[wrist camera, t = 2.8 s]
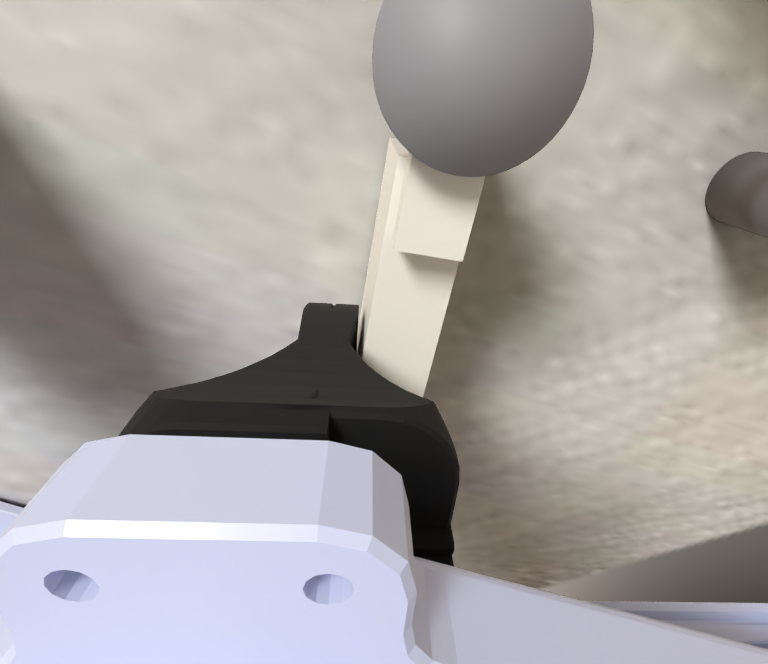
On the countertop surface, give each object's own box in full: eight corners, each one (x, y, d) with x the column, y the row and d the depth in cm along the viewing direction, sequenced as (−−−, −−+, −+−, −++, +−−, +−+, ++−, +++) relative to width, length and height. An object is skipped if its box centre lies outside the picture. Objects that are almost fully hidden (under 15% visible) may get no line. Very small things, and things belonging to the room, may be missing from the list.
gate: (383, 3, 10) (394, -114, 5) (497, 29, 10) (631, -54, 5) (325, 415, 16) (300, 577, 10) (400, 425, 16) (412, 586, 11)
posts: (478, 519, 19) (513, 661, 14) (227, 428, 16) (164, 566, 11) (793, 173, 12) (1065, 217, 7) (456, -76, 10) (539, -260, 5)
